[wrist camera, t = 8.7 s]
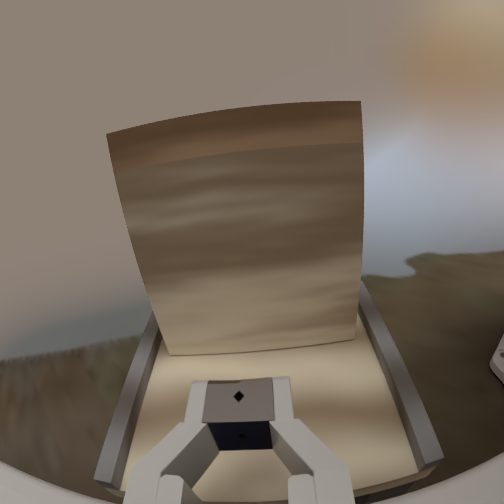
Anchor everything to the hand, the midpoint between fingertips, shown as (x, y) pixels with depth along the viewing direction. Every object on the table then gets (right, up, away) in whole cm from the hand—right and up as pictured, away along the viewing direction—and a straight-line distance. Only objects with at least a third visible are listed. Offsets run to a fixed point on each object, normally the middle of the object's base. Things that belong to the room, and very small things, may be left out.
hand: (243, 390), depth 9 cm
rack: (+2, -12, +16) cm, 20 cm away
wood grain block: (+1, +1, +15) cm, 15 cm away
